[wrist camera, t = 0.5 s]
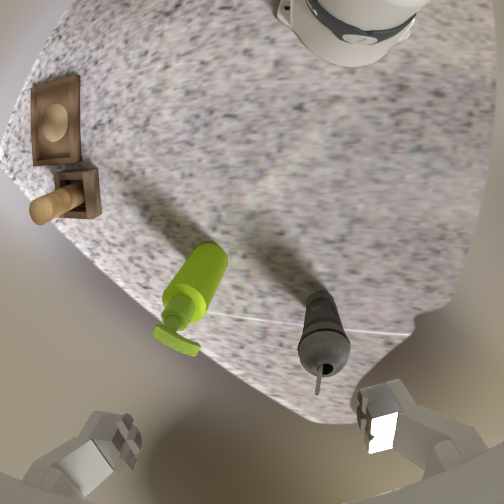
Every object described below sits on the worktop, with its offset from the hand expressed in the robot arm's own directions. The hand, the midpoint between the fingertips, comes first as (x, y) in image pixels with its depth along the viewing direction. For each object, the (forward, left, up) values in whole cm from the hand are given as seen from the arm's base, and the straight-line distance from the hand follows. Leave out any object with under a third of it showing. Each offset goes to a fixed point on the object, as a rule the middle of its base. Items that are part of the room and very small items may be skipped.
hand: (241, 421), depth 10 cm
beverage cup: (+19, +7, -38) cm, 43 cm away
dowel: (+2, -35, -38) cm, 52 cm away
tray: (-11, -40, -38) cm, 56 cm away
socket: (+2, -35, -38) cm, 52 cm away
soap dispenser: (+13, -11, -38) cm, 42 cm away
